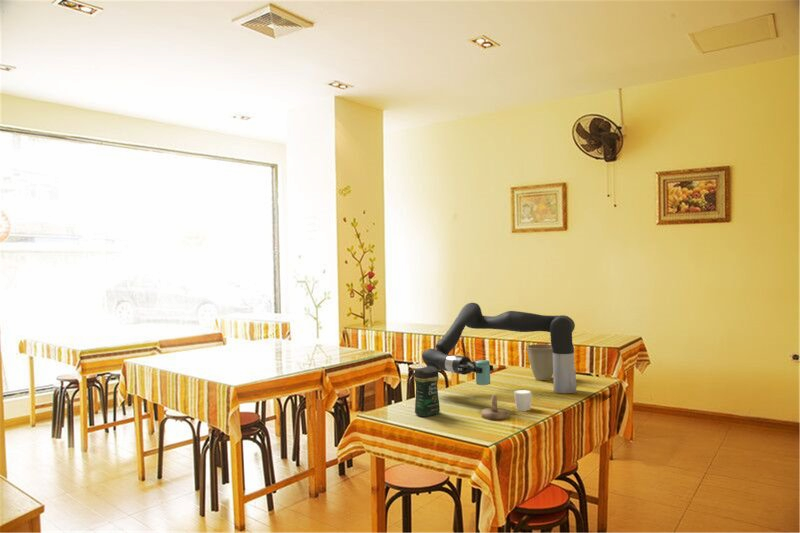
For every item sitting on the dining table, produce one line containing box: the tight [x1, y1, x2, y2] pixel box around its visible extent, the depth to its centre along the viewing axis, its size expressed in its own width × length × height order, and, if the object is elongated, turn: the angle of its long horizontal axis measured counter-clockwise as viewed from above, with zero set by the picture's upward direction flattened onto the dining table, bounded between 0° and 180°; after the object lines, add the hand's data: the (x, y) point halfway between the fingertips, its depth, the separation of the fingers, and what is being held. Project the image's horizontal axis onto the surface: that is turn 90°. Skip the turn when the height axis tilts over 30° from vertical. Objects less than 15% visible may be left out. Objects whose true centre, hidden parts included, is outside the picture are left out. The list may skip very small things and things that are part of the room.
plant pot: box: [526, 343, 553, 381], centre depth 278 cm, size 15×15×16 cm
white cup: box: [513, 389, 532, 412], centre depth 227 cm, size 7×7×7 cm
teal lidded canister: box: [475, 359, 491, 386], centre depth 232 cm, size 6×6×9 cm
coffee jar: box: [413, 366, 441, 417], centre depth 226 cm, size 10×8×19 cm
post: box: [481, 394, 509, 421], centre depth 219 cm, size 10×10×8 cm
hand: (487, 369), depth 230 cm, fingers closed on teal lidded canister, 5 cm apart
